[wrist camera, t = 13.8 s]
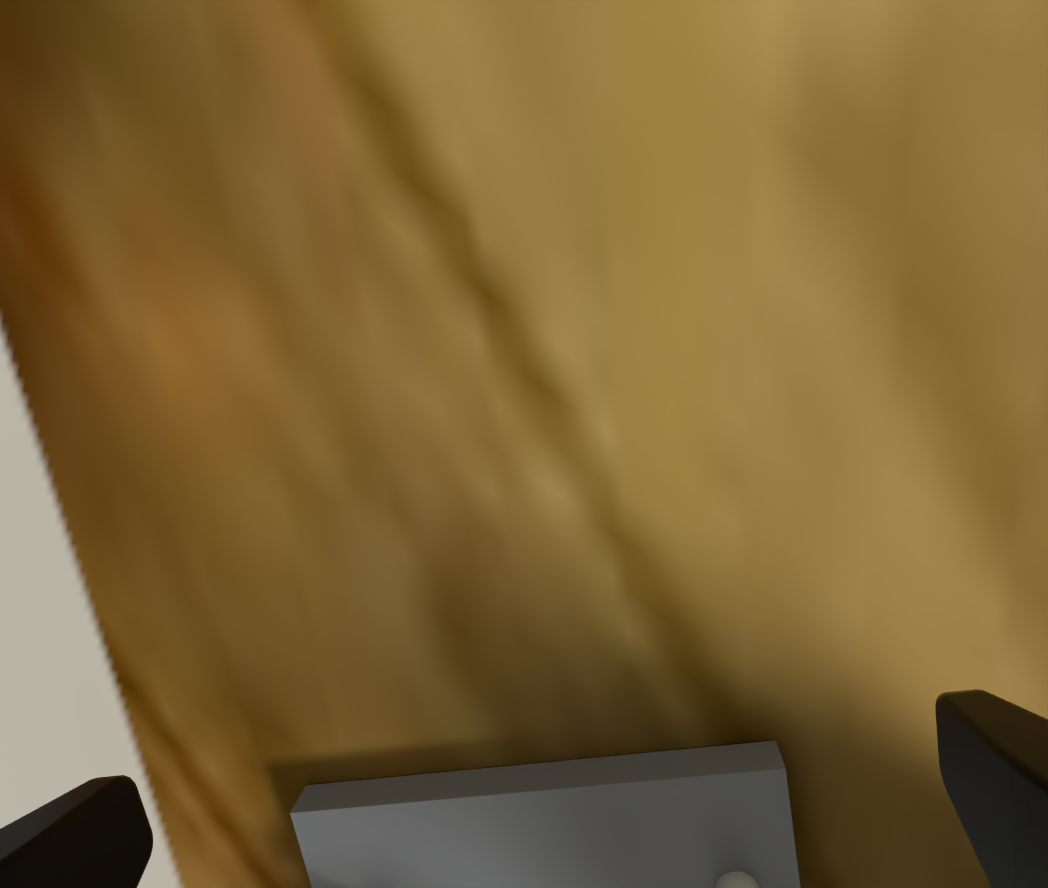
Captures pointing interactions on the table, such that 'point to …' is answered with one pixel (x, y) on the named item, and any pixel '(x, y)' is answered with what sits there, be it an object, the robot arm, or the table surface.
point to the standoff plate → (560, 824)
